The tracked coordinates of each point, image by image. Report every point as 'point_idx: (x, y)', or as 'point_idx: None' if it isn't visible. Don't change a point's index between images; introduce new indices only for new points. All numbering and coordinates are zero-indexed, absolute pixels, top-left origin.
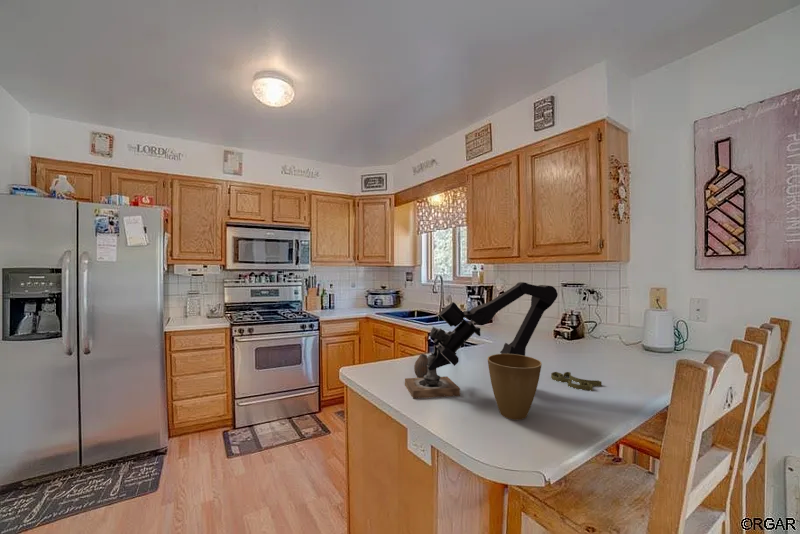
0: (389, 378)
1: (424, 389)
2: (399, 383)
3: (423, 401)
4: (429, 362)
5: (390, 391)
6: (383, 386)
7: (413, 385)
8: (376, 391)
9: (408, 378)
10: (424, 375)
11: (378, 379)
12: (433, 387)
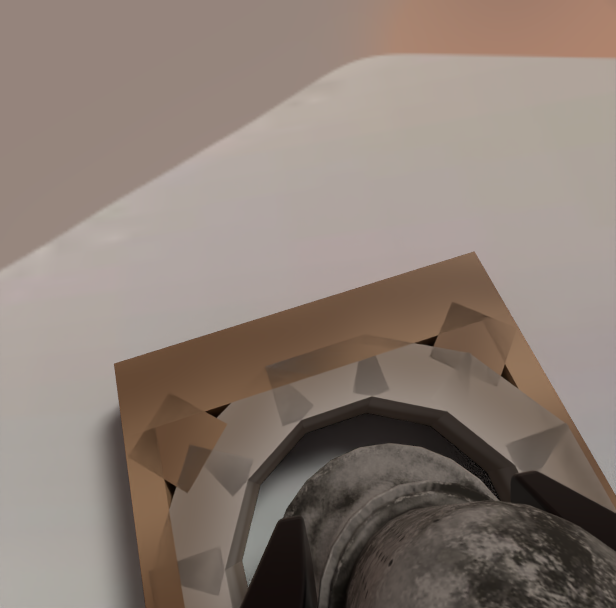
0: (590, 155)
1: (149, 478)
2: (494, 238)
3: (74, 480)
4: (372, 555)
5: (289, 206)
6: (386, 150)
7: (271, 351)
8: (276, 131)
9: (484, 282)
10: (434, 454)
11: (531, 97)
12: (223, 596)
